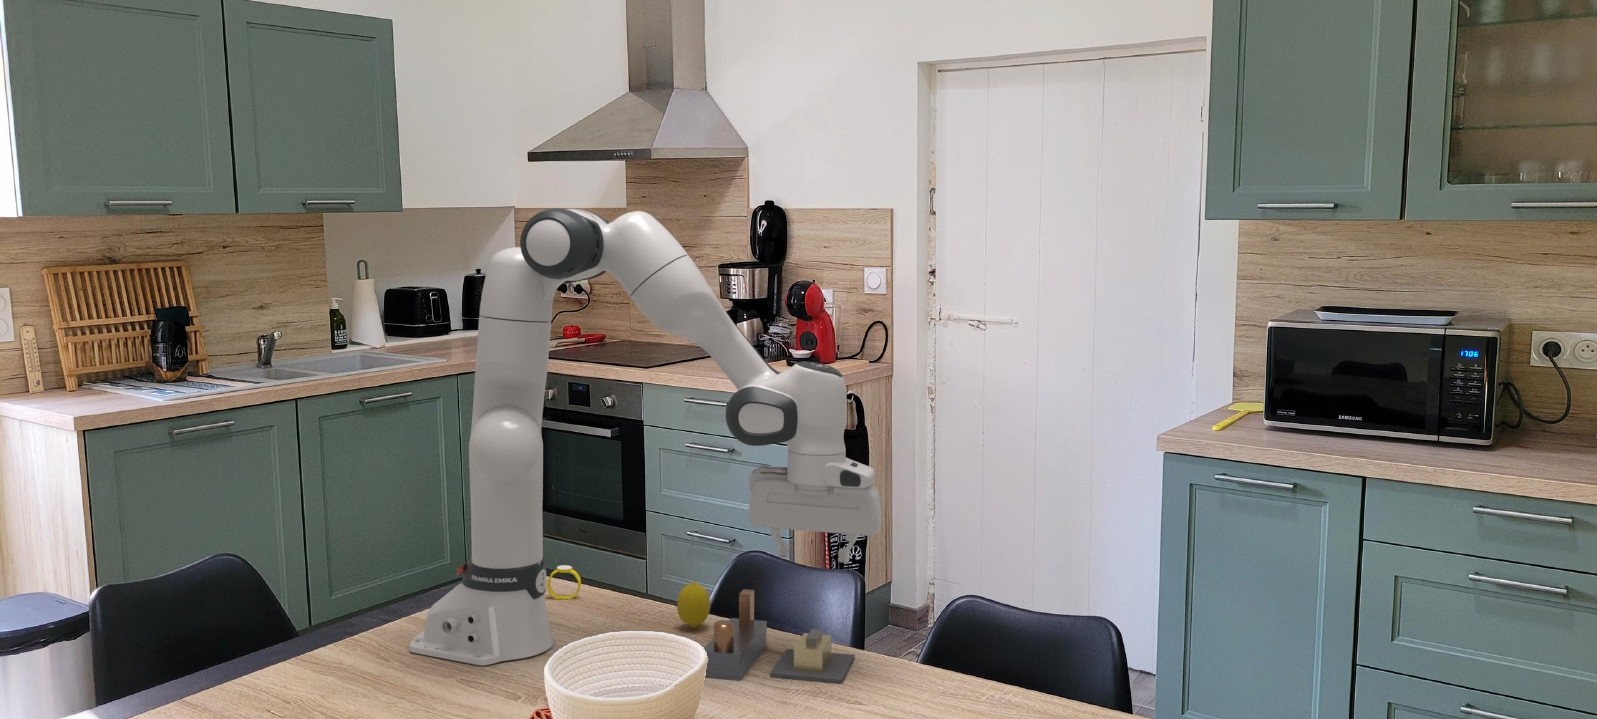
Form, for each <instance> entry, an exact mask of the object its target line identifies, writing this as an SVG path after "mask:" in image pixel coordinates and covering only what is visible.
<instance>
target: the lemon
mask: <svg viewBox="0 0 1597 719" xmlns="http://www.w3.org/2000/svg"><path fill="white" fill-rule="evenodd" d="M710 601H711V599H710V596H709V592H708V591H707V590H706V588H705V587H704V586H702V585H701V584H698V583H697V582H696V581H692V582H691V583H689V584H687V585H686V586H683V588H682V589H680V591H679V593H678V597H677V604H676V605H677V607H676V608H677V614H678V617H679V619H680V620H681V621H682V623H684V624H686V625H688V626H690V628H692V629H696V628H697V627H698V626H699V625H701V624H702V623H704V622H705V621H706V620H707V618H709V614H710V611H711V602H710Z"/></svg>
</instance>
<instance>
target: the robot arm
mask: <svg viewBox="0 0 1597 719" xmlns="http://www.w3.org/2000/svg"><path fill="white" fill-rule="evenodd" d="M519 245H520V246H518V247H517V246H513V247H508V248H505V249H502V250H499V251H498V252H496V253H495V254H494V255H493V256H492V257H491V259H490V261H489V263H488V266H487V270H486V274H485V278H484V282H483V286H482V292H481V297H480V298H481V300H480V305H479V317H478V329H477V340H476V341H477V343H476V344H477V345H476V357H475V366H474V367H475V368H474V384H473V385H474V386H473V402H472V416H471V417H472V418H471V428H470V436H469V442H468V458H469V460H468V461H469V464H468V465H469V491H470V492H469V494H470V495H469V497H470V498H469V499H470V518H471V519H470V522H471V523H470V524H471V525H470V526H471V527H470V528H471V529H470V530H471V532H470V533H471V534H470V535H471V538H470V539H471V558H470V559H469V560H468V561H466V562H463V563H462V565H461V566H459V567H458V568H456V571H457V572H456V576H460V575H461V574H462V579H461V582H460V583H459V584H458V585H456V586H455V587H454V588H453V589H451V590H450V591H449V592H447V593H446V594H445V595H443V597H441V598H440V599H439V600H437V601H436V602H434V603H433V605H432V606H431V607H430V609H429V611H428V612H427V615H426V619H425V623H424V630H423V631H421V632H420V633H418V634H417V635H415V637H413V638H412V639H411V641H410V643H409V652H410V653H413V654H419V655H424V656H428V657H429V656H430V657H434V658H439V659H445V660H449V661H455V662H460V663H465V664H469V665H470V664H471V665H476V666H489V665H493V664H497V663H501V662H506V661H513V660H520V659H525V658H528V657H534V656H537V655H539V654H541V653H544V652H546V651H548V650H549V649H550V648H552V647H553V646H554V644H555V639H554V636H553V634H552V631H551V626H550V621H549V618H548V616H549V615H548V610H547V604H546V603H547V602H546V595H545V593H546V591H547V590H546V588H547V567H546V566H547V565H546V563H547V562H546V557H545V556H544V553H543V552H544V550H543V549H544V548H543V546H544V544H543V542H544V538H543V537H544V536H543V535H544V533H543V532H544V530H543V523H544V522H543V500H544V497H543V495H544V492H543V491H544V490H543V489H544V483H543V482H544V442H543V441H544V440H543V438H542V423H543V412H544V405H545V404H544V403H545V402H544V401H545V393H546V384H547V376H548V369H549V368H548V367H549V354H550V344H551V332H552V318H553V306H554V305H553V304H554V303H553V302H554V297H555V294H556V291H557V290H558V288H559V286H561V285H562V284H565V285H566V284H567V285H569V284H573V283H577V282H581V281H588V280H592V279H595V278H598V277H600V276H602V275H604V274H606V273H609V274H610V275H612V277H614V278H615V279H616V280H617V282H619V284H620V285H621V287H622V288H623V289H624V290H625V292H626V293H627V295H628V297H630V298H631V300H632V301H633V303H634V305H636V307H637V309H639V311H641V313H642V314H643V315H644V316H645V317H646V318H647V319H648V320H649V321H650V322H651V323H652V324H653V325H654V326H656V328H658V329H659V330H660V331H662V332H665V333H668V334H670V335H674V336H677V337H679V338H683V339H686V340H688V341H690V342H692V343H693V344H696V345H698V347H700V348H701V349H702V350H704V351H705V352H706V353H707V354H708V355H709V356H710V357H711V358H712V359H713V361H714V362H715V363H716V365H717V366H718V367H719V368H720V369H721V371H722V372H723V373H724V374H725V375H726V377H727V378H728V379H729V381H730V382H731V383H732V384H733V386H734V387H735V388H736V389H737V390H736V392H735V393H733V395H732V396H731V397H730V399H729V401H728V402H727V405H726V408H725V422H726V425H727V428H728V431H730V433H731V435H732V436H733V437H734V439H736V440H737V441H739V442H741V443H742V444H744V445H747V446H750V447H751V446H752V447H766V446H770V445H777V444H781V443H783V444H784V443H785V444H786V446H787V453H786V454H787V456H786V457H787V460H786V462H787V463H786V466H767V465H760V466H759V467H757V468H755V469H752V471H751V472H750V474H749V478H748V481H749V482H748V487H749V490H750V492H751V495H750V501H749V507H748V516H747V518H748V522H750V524H751V526H753V527H756V528H757V527H759V528H760V527H761V528H770V536H771V538H772V539H773V541H774V542H775V545H776V546H777V555H776V556H777V557H779V558H788V557H789V556H790V550H789V549H790V543H785V542H784V540H783V537H782V535H781V534H782V533H783V532H784V531H783V530H795V531H796V530H797V531H808V532H816V533H817V532H818V533H819V532H820V533H830V534H842V535H843V534H844V535H845V541H847V542H848V543H847V545H846V547H845V548H839V550H838V551H837V555H838V558H837V562H838V563H844V564H845V563H846V564H848V563H849V561H850V555H851V554H850V550H851V549H852V548H853V546H854V544H855V543H856V541H857V539H858V536H866V537H867V536H868V537H873V536H875V535H876V534H877V533H878V532H879V531H880V530H881V528H882V507H881V506H882V505H881V498H880V494H879V491H878V488H877V487H876V486H875V485H874V484H873V483H874V480H875V478H876V477H875V475H876V473H875V472H876V471H875V470H874V468H873V467H870V466H869V465H866V464H863V463H861V462H859V461H856V460H853V459H851V458H848V457H846V454H847V453H846V451H847V450H846V444H845V440H844V436H845V435H844V434H845V429H846V426H847V422H848V420H847V418H848V399H847V386H846V382H845V378H844V375H843V374H842V373H841V372H840V370H838V369H837V368H835V367H833V366H831V365H827V364H824V363H820V362H815V361H812V362H811V361H800V362H799V361H798V362H796V363H794V364H793V365H792V366H791V367H789V368H788V369H786V370H785V371H782V372H780V371H778V370H777V369H775V368H774V367H773V366H771V365H770V364H769V363H768V362H767V361H766V360H765V358H763V356H762V355H761V354H760V352H759V351H758V350H757V349H756V348H755V346H754V344H752V343H751V342H750V341H749V339H748V337H747V336H746V335H745V334H744V333H743V331H742V330H741V328H739V327H738V326H737V324H736V323H735V322H734V320H732V318H731V317H730V315H729V314H728V313H727V311H726V309H725V308H724V306H723V305H722V303H721V302H720V301H719V299H718V298H717V296H716V295H715V293H714V291H713V289H712V287H711V286H710V285H709V283H708V282H707V280H706V279H705V276H704V275H703V274H702V272H701V271H700V270H699V267H698V266H697V265H696V263H695V262H694V260H693V259H692V257H691V256H690V255H689V254H688V253H687V251H686V250H685V249H684V247H683V246H682V245H681V244H680V242H679V241H678V240H677V239H676V238H675V237H674V235H672V233H670V231H669V230H668V229H667V228H665V226H664V225H662V224H661V222H659V221H658V220H657V219H656V218H655V217H654V216H653V215H652V214H649V213H648V212H646V211H642V210H634V211H630V212H627V213H624V214H621V215H619V216H618V217H616V218H615V219H614V220H613V221H608V220H607V219H606V218H605V217H604V216H602V215H600V214H597V213H593V212H590V211H587V210H583V209H580V208H562V207H561V208H558V207H552V208H547V209H544V210H541V211H540V212H538V213H536V214H534V215H533V216H532V217H530V218H529V219H528V221H527V222H526V223H525V225H524V226H523V229H522V231H521V235H520V241H519Z"/></svg>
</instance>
